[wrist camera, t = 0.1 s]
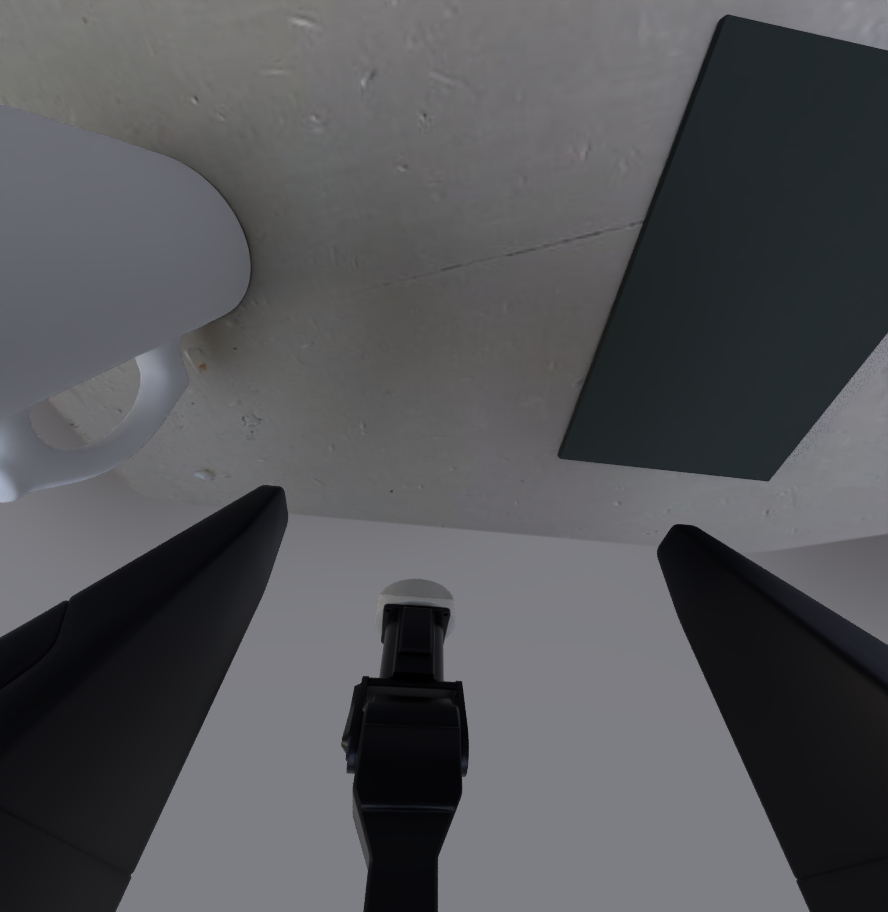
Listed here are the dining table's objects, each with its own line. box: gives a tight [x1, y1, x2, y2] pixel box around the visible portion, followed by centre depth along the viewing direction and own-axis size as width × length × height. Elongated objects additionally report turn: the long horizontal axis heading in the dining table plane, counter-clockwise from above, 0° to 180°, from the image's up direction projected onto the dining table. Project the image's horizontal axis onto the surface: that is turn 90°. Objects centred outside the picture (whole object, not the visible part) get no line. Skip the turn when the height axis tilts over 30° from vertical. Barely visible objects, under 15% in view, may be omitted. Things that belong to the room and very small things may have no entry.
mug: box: [0, 104, 251, 503], centre depth 11 cm, size 10×7×12 cm, turn 176°
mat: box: [558, 15, 888, 481], centre depth 17 cm, size 18×14×1 cm
